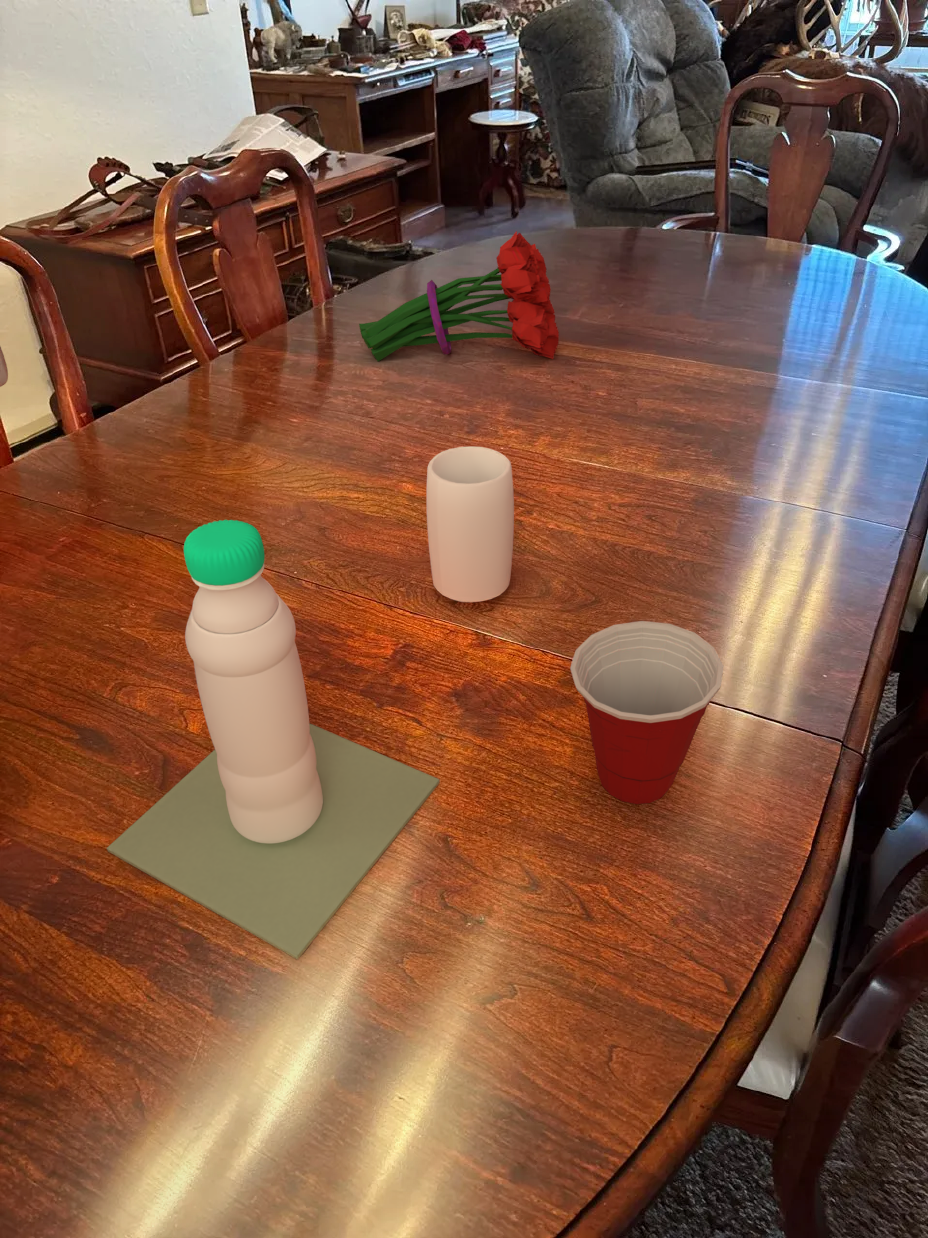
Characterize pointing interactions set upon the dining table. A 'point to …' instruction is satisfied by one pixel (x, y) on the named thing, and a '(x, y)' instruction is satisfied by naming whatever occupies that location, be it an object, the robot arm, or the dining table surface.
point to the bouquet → (430, 313)
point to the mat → (279, 872)
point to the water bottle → (251, 685)
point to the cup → (470, 522)
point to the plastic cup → (644, 702)
